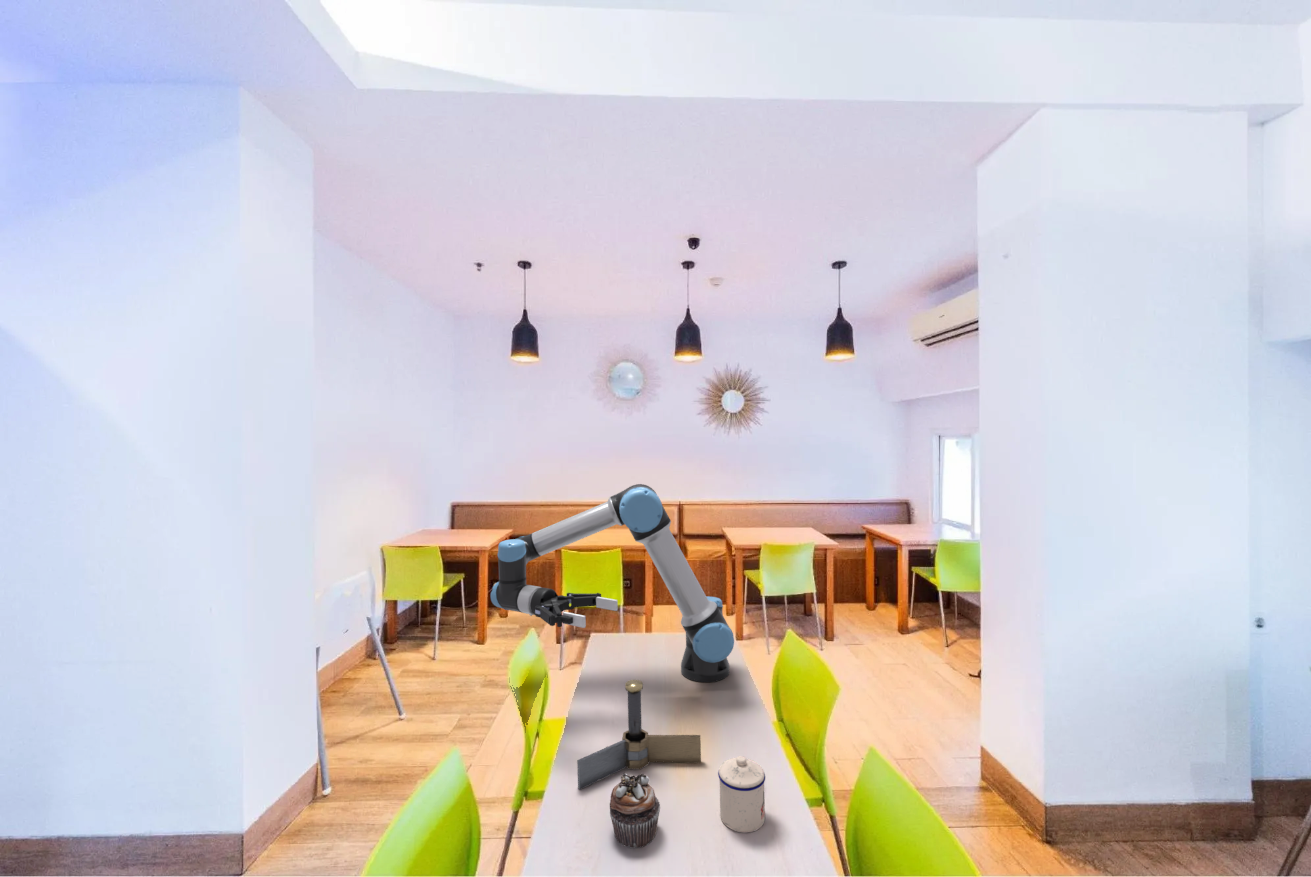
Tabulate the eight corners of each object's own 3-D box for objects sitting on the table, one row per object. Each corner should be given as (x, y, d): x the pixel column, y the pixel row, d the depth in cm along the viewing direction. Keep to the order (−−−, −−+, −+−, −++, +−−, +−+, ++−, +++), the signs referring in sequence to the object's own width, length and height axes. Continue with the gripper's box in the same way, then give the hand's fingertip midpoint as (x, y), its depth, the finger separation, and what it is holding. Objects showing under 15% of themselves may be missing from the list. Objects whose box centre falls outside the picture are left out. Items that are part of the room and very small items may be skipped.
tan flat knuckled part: (700, 754, 125) (699, 729, 125) (701, 769, 119) (700, 743, 119) (624, 753, 126) (624, 728, 126) (622, 769, 120) (621, 743, 120)
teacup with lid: (773, 830, 101) (772, 769, 101) (727, 838, 99) (726, 776, 99) (750, 789, 113) (749, 734, 113) (709, 795, 111) (708, 739, 111)
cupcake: (609, 853, 96) (607, 798, 96) (610, 815, 106) (609, 765, 106) (662, 850, 97) (661, 795, 97) (659, 812, 107) (658, 762, 106)
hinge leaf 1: (638, 750, 127) (638, 726, 127) (653, 762, 122) (653, 736, 122) (572, 781, 116) (571, 754, 116) (585, 795, 112) (585, 767, 112)
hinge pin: (645, 756, 125) (643, 679, 125) (643, 766, 121) (642, 687, 121) (627, 756, 125) (626, 679, 125) (626, 766, 121) (624, 687, 121)
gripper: (568, 602, 157) (628, 613, 146) (504, 630, 136) (569, 645, 125) (568, 576, 157) (628, 585, 146) (504, 600, 136) (569, 613, 125)
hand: (601, 613), depth 135 cm, fingers open, 13 cm apart
